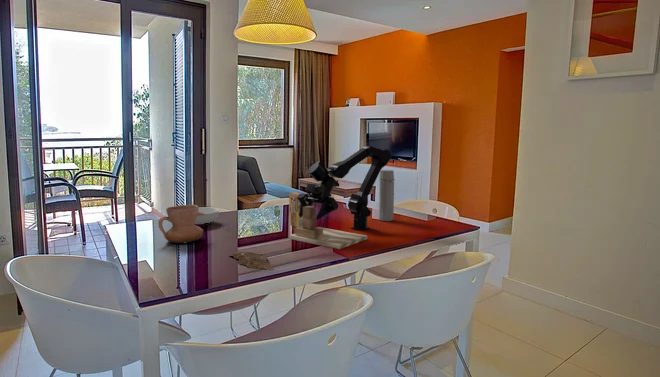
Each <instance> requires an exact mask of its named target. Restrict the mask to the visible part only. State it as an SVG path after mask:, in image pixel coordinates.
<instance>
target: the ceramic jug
mask: <svg viewBox="0 0 660 377" xmlns="http://www.w3.org/2000/svg"><path fill="white" fill-rule="evenodd" d="M198 207H199V206H198V204H197V205H196V204H182V205H175V206H169V207H166V208H165V210H166V214H167V215H165V216H164V215H163V216H162V217H160V218H159V220H158V224H157V225H158V228H159V230H160V231H161V233H162V234H163V237H164V239H165V240H166V241H168V242H169V243H173V242H175V243H174V244H179V243H183V244H185V243H184V242H190V241H194V242H196V241H198V240H200V239H201V238H202V237H203V234H204V229H203V228H201V226H196V225H195V224H194V223H195V220H196V218H197V217H198V216H199V215H204V212H198ZM164 221H168V222H170V223H171V227H170V228H169V229H168V230H167V231H165V229H164V227H163V222H164ZM195 240H196V241H195ZM176 242H177V243H176Z"/></svg>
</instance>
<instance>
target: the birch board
mask: <svg viewBox="0 0 660 377" xmlns="http://www.w3.org/2000/svg"><path fill="white" fill-rule="evenodd" d="M316 228H321V229H323V236H321V237H318V238H315V239H312V238H307V237H302V236H297V235H295V233H292V234H289V235H288V238H289V240H293V241H298V242H303V243H308V244H312V245H318V246H323V247H327V248H331V249H336V250H341V249H344V248H346V247H347V248H348V247H349V246H352V245H355V244H358V243H360V242H361V243H362V242H363V241H366V240H368V235H366V234H359V233H356V232H347V231H345V230H344V231H343V230H337V229H331V228H326V227H321V226H317V227H316Z"/></svg>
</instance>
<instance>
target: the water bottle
mask: <svg viewBox="0 0 660 377" xmlns="http://www.w3.org/2000/svg"><path fill="white" fill-rule="evenodd" d="M378 176H379V177H378V178H379V179H378V181H379V186H378V188H379V192H378V193H379V197H378V207H379V209H378V220H379V221H381V222H391V221H393V220H394V212H395V211H394V209H395V208H394V207H395V204H394V202H395V174H394V170H393V169H381V170H380V172H379V175H378Z"/></svg>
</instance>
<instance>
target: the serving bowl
mask: <svg viewBox="0 0 660 377" xmlns="http://www.w3.org/2000/svg"><path fill="white" fill-rule="evenodd" d="M198 212H204V215H199V216H198V217H197V218H196V220H195V223H194V224H204V223H209V224H211V223H213V222H215V221H216V219H217V218H218V216H219V213H220V212H219V209H218V208H216V207H208V206H198ZM210 222H211V223H210Z"/></svg>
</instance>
